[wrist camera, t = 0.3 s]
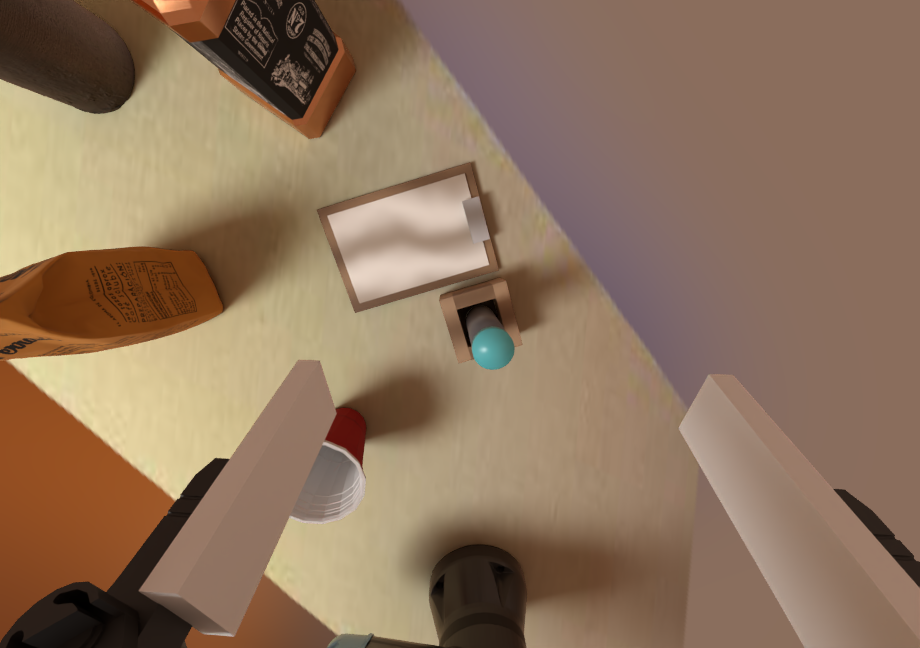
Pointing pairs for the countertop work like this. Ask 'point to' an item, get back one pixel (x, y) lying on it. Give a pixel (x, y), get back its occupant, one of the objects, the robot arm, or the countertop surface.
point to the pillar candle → (64, 54)
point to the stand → (476, 295)
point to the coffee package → (103, 301)
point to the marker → (488, 338)
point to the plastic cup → (335, 473)
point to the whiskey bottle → (267, 53)
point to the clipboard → (410, 238)
